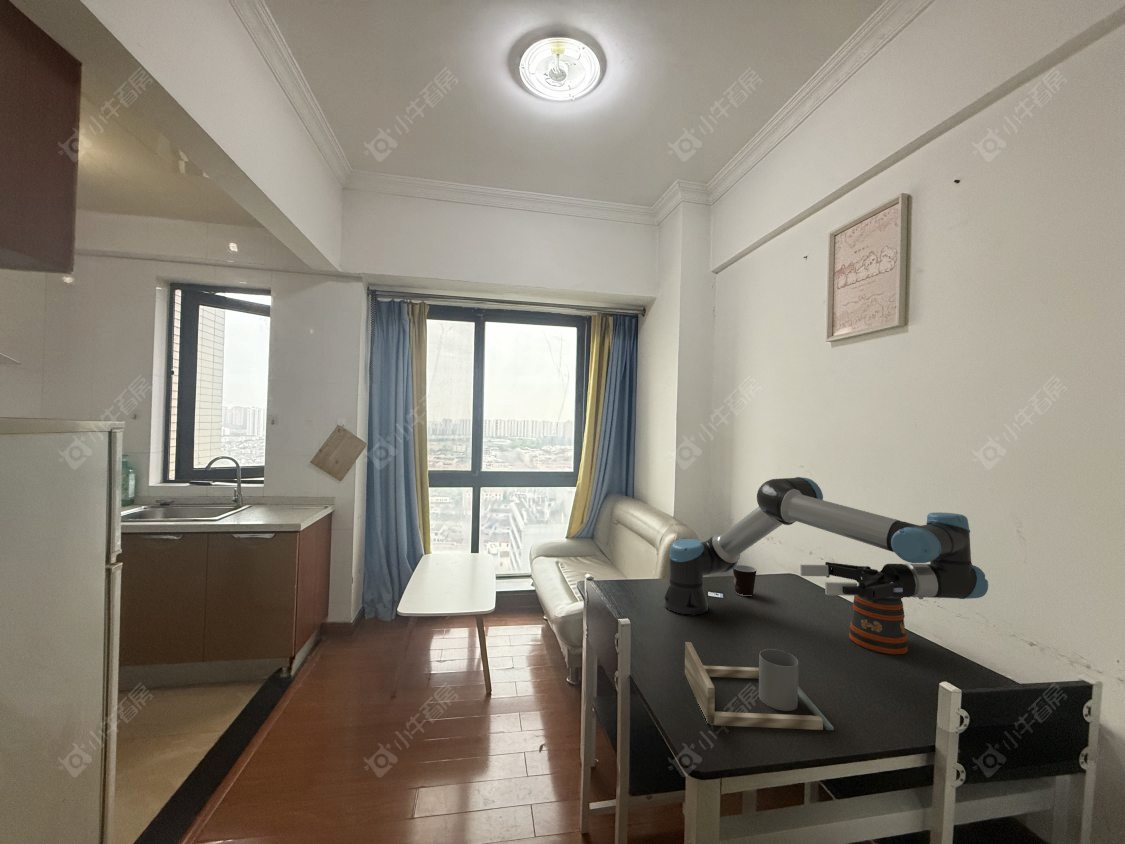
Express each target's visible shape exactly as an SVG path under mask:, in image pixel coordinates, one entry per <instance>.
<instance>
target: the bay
mask: <svg viewBox="0 0 1125 844" xmlns="http://www.w3.org/2000/svg"><path fill="white" fill-rule="evenodd" d="M684 674H685V677H686V679H687V682H688V683H689V686H690V688H691V691H692V693H693V695H694V698H695V697H696V698H695V700H696V702H697V704H699V705H698V707H699V706H700V707H699V709H700V708H701V709H700V711H701V710H702V712H703V714H704V716H705V718H706V721H707V723H710V724H713V725H712V726H727V727H750V728H769V729H770V728H771V729H772V728H773V729H791V730H793V729H794V730H795V729H796V730H798V729H799V730H817V731H823V730H824V729H825V730H826V731H834V729H835V728H834V726H833V725H832V724H831V723H830V721H829V720H828V719H827V717H825V716H824V714H823V713H822V712H821V711H820V710H819V709H818V707H817V706H816V705H815V704H814V703H813V701H812V700H811V699H810V698H809V697H808V695H807V694H806V693H805V692H804V691H803V690H802V688H801V687H800V686H799V685H798V698H799V699H801V701H802V703H804V704H805V706H806V707H807V708H808V709H809V711H810V712H811V713H812V714H813V715H806V714H805V715H802V714H800V715H799V714H781V713H780V714H778V713H759V712H758V713H757V712H756V713H753V712H735V711H734V712H730V711H715V704H716V703H715V702H716V701H715V698H716V697H715V696H716V695H715V693H716V691H715V690H716V688H715V685H714V684H713V682H712V680H711V677H712V678H714V677H715V678H736V679H758V680H759V667H752V666H751V667H750V666H749V667H747V666H745V667H744V666H721V665H704V664H703V663H702V661H701V659H700V657H699V655H698V653H697V651H696V649H695V647H694V645H693V643H692V642H691V641H684ZM702 712H701V713H702ZM703 714H702V715H703ZM704 716H703V717H704ZM706 721H705V722H706ZM707 723H706V724H707Z"/></svg>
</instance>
